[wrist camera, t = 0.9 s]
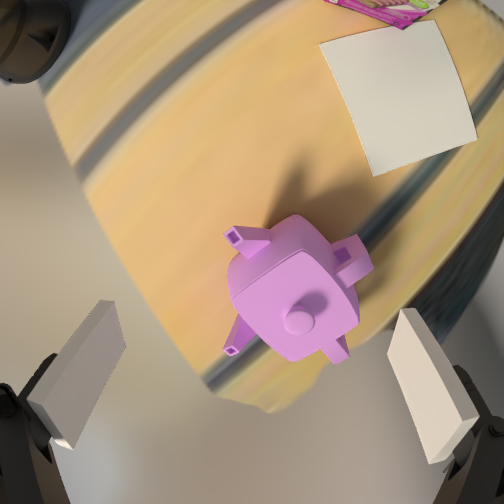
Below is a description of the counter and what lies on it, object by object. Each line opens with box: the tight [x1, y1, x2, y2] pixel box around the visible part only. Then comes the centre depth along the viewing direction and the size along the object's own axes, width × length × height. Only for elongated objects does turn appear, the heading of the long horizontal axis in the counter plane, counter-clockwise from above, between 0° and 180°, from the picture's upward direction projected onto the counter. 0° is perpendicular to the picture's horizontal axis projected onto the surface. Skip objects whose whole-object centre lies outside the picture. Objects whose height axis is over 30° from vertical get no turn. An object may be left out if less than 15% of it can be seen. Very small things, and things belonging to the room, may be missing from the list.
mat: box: [319, 20, 478, 177], centre depth 32 cm, size 18×18×1 cm
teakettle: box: [223, 214, 374, 365], centre depth 37 cm, size 17×17×12 cm
